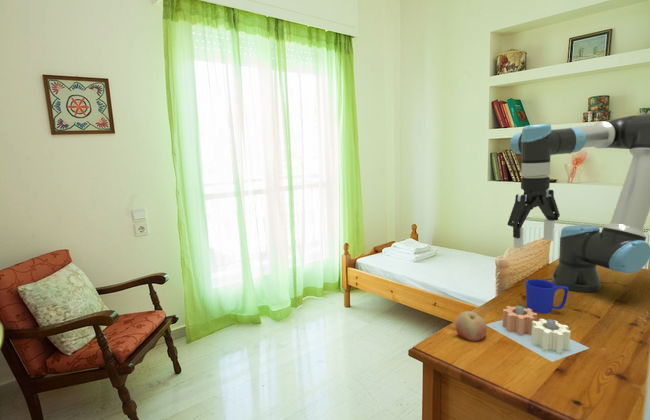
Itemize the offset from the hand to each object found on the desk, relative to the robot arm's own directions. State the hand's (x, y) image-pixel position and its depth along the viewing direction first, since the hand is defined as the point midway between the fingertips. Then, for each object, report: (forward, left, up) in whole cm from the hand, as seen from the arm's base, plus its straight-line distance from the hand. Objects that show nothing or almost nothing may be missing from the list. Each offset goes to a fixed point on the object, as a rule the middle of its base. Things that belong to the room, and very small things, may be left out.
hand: (533, 243), depth 111 cm
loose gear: (+13, +7, -22) cm, 27 cm away
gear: (+13, +17, -22) cm, 31 cm away
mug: (-5, +2, -24) cm, 24 cm away
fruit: (+28, +4, -24) cm, 37 cm away
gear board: (+13, +12, -23) cm, 29 cm away
